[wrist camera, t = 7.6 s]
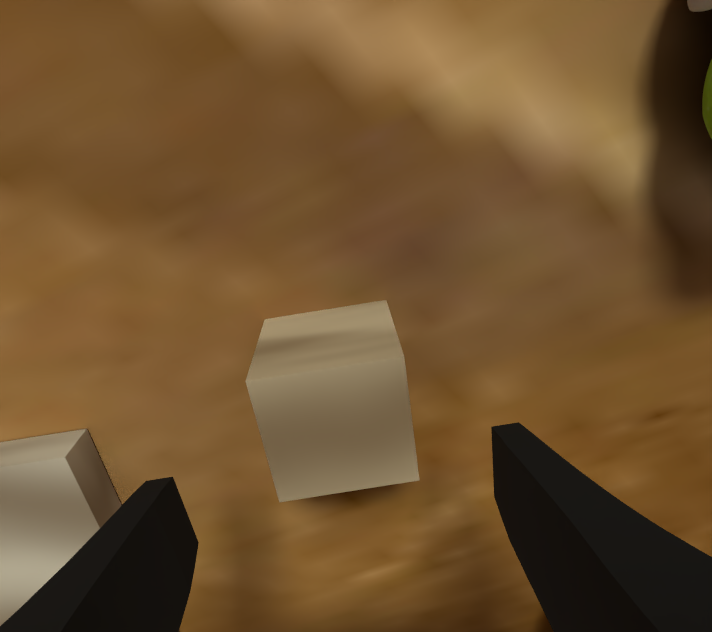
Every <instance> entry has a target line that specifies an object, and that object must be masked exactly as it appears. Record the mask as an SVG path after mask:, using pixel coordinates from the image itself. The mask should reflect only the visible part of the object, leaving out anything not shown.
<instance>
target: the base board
mask: <svg viewBox="0 0 712 632" xmlns="http://www.w3.org/2000/svg"><path fill="white" fill-rule="evenodd" d="M121 506H122V505H121V503H120V501H119V498H118V496H117V494H116V492H115V490H114V487H113V485H112V483H111V481H110V479H109V476H108V474H107V472H106V470H105V468H104V465H103V463H102V461H101V459H100V457H99V454H98V452H97V450H96V448H95V446H94V443H93V441H92V439H91V437H90V435H89V432H88V430H87V429H82V430H76V431H69V432H63V433H57V434H50V435H44V436H38V437H31V438H25V439H19V440H13V441H6V442H0V626H1V625H2V624H3V623H4V622H5V621H6V620H7V619H9V618H10V617H11V616H12V615H13V614H14V613H15V612H16V611H17V610H18V609H19V608H21V607H22V606H23V605H24V604H25V603H26V602H27V601H28V600H29V599H30V598H31V597H32V596H33V595H34V594H35V593H36V592H37V591H38V590H39V589H40V588H41V587H42V586H43V585H44V584H45V583H46V582H47V581H48V580H49V579H50V578H51V577H52V576H54V575H55V574H56V573H57V572H58V571H59V570H60V569H61V568H62V567H63V566H64V565H65V564H66V563H67V562H68V561H69V560H70V559H71V558H72V557H73V556H74V555H75V554H76V553H77V552H78V551H79V550H80V548H81V547H82V546H83V545H84V544H85V543H86V542H87V541H88V540H89V539H90V538H91V537H92V536H93V535H94V534H95V533H96V532H97V531H98V530H99V529H100V528H101V527H102V526H103V525H104V524H105V523H106V521H107V520H108V519H109V518H110V517H111V516H112V515H113V514H114V513H115V512H116V511H117V510H118V509H119V508H120V507H121ZM178 632H179V631H178Z"/></svg>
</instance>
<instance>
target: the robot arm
mask: <svg viewBox="0 0 712 632" xmlns="http://www.w3.org/2000/svg"><path fill="white" fill-rule="evenodd" d="M492 451H493V476H494V497H495V500H496V503H497V506H498V509H499V512H500V515H501V517H502V520H503V523H504V526H505V529H506V531H507V534H508V537H509V540H510V542H511V544H512V546H513V548H514V551H515V553H516V555H517V557H518V559H519V561H520V563H521V565H522V567H523V569H524V571H525V574H526V576H527V578H528V580H529V582H530V584H531V586H532V588H533V590H534V592H535V594H536V596H537V598H538V600H539V602H540V604H541V607H542V609H543V611H544V613H545V615H546V617H547V619H548V621H549V623H550V625H551V627H552V629H553V631H554V632H712V557H711V556H709V555H707V554H705V553H703V552H702V551H700V550H698V549H697V548H695V547H693V546H691V545H690V544H688V543H686V542H685V541H683V540H681V539H680V538H678V537H676V536H674V535H673V534H671V533H669V532H668V531H666V530H664V529H663V528H661V527H659V526H658V525H656V524H655V523H653V522H652V521H650V520H648V519H647V518H645V517H644V516H642V515H641V514H639V513H638V512H636V511H635V510H633V509H632V508H630V507H629V506H627V505H626V504H624V503H623V502H621V501H620V500H618V499H617V498H616V497H614V496H613V495H611V494H610V493H609V492H607V491H606V490H604V489H603V488H602V487H600V486H599V485H598V484H596V483H595V482H594V481H592V480H591V479H590V478H588V477H587V476H586V475H584V474H583V473H582V472H580V471H579V470H578V469H576V468H575V467H574V466H572V465H571V464H570V463H569V462H567V461H566V460H565V459H564V458H562V457H561V456H560V455H559V454H557V453H556V452H555V451H553V450H552V449H551V448H550V447H549V446H547V445H546V444H545V443H544V442H542V441H541V440H540V439H539V438H538V437H536V436H535V435H534V434H533V433H531V432H530V431H529V430H528V429H526V428H525V427H524V426H523V425H521V424H520V423H512V424H506V425H500V426H493V427H492ZM197 549H198V540H197V538H196V535H195V533H194V530H193V527H192V525H191V522H190V520H189V517H188V515H187V512H186V509H185V507H184V504H183V502H182V499H181V497H180V494H179V492H178V489H177V486H176V484H175V481H174V479H173V477H169V478H162V479H156V480H150V481H146V482H145V483H144V484H143V485H141V486H140V487H139V488H138V489H137V490H136V491H135V492H134V493H133V494H132V495H131V496H130V497H129V498H128V499H127V501H126V502H125V503H124V504H123V505H122V506H121V507H120V508H119V509H118V510H117V511H116V512H115V513H114V514H113V515H112V516H111V517H110V518H109V519H108V520H107V521H106V523H105V524H104V525H103V526H102V527H101V528H100V529H99V530H98V531H97V532H96V533H95V534H94V535H93V536H92V537H91V538H90V539H89V540H88V541H87V542H86V543H85V544H84V545H83V546H82V547H81V548H80V550H79V551H78V552H77V553H76V554H75V555H74V556H73V557H72V558H71V559H70V560H69V561H68V562H67V563H66V564H65V565H64V566H63V567H62V568H61V569H60V570H59V571H58V572H57V573H56V574H55V575H54V576H52V577H51V578H50V579H49V580H48V581H47V582H46V583H45V584H44V585H43V586H42V587H41V588H40V589H39V590H38V591H37V592H36V593H35V594H34V595H33V596H32V597H31V598H30V599H29V600H28V601H27V602H26V603H25V604H24V605H23V606H22V607H21V608H19V609H18V610H17V611H16V612H15V613H14V614H13V615H12V616H11V617H10V618H9V619H7V620H6V621H5V622H4V623H3V624H2V625H1V626H0V632H178V631H179V628H180V624H181V621H182V618H183V614H184V611H185V607H186V604H187V600H188V597H189V593H190V590H191V584H192V579H193V574H194V568H195V562H196V555H197Z"/></svg>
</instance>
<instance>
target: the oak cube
mask: <svg viewBox="0 0 712 632" xmlns="http://www.w3.org/2000/svg"><path fill="white" fill-rule="evenodd" d="M246 385H247V388H248V392H249V395H250V399H251V403H252V406H253V410H254V413H255V417H256V420H257V424H258V428H259V431H260V435H261V438H262V442H263V445H264V449H265V452H266V456H267V460H268V463H269V467H270V470H271V474H272V477H273V481H274V485H275V488H276V492H277V495H278V499H279V502H285V501H291V500H297V499H304V498H310V497H316V496H323V495H329V494H335V493H342V492H348V491H355V490H361V489H367V488H374V487H380V486H386V485H393V484H399V483H405V482H412V481H418V480H419V473H418V465H417V457H416V449H415V441H414V432H413V424H412V416H411V408H410V400H409V392H408V384H407V376H406V367H405V359H404V354H403V351H402V348H401V345H400V342H399V339H398V336H397V332H396V329H395V326H394V323H393V320H392V317H391V314H390V311H389V308H388V304H387V301H386V300H383V301H377V302H371V303H364V304H358V305H352V306H346V307H339V308H333V309H327V310H321V311H314V312H308V313H302V314H295V315H289V316H283V317H277V318H270V319H265V320H264V324H263V327H262V330H261V333H260V337H259V340H258V343H257V346H256V349H255V353H254V356H253V359H252V362H251V366H250V369H249V372H248V375H247V379H246Z"/></svg>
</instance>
